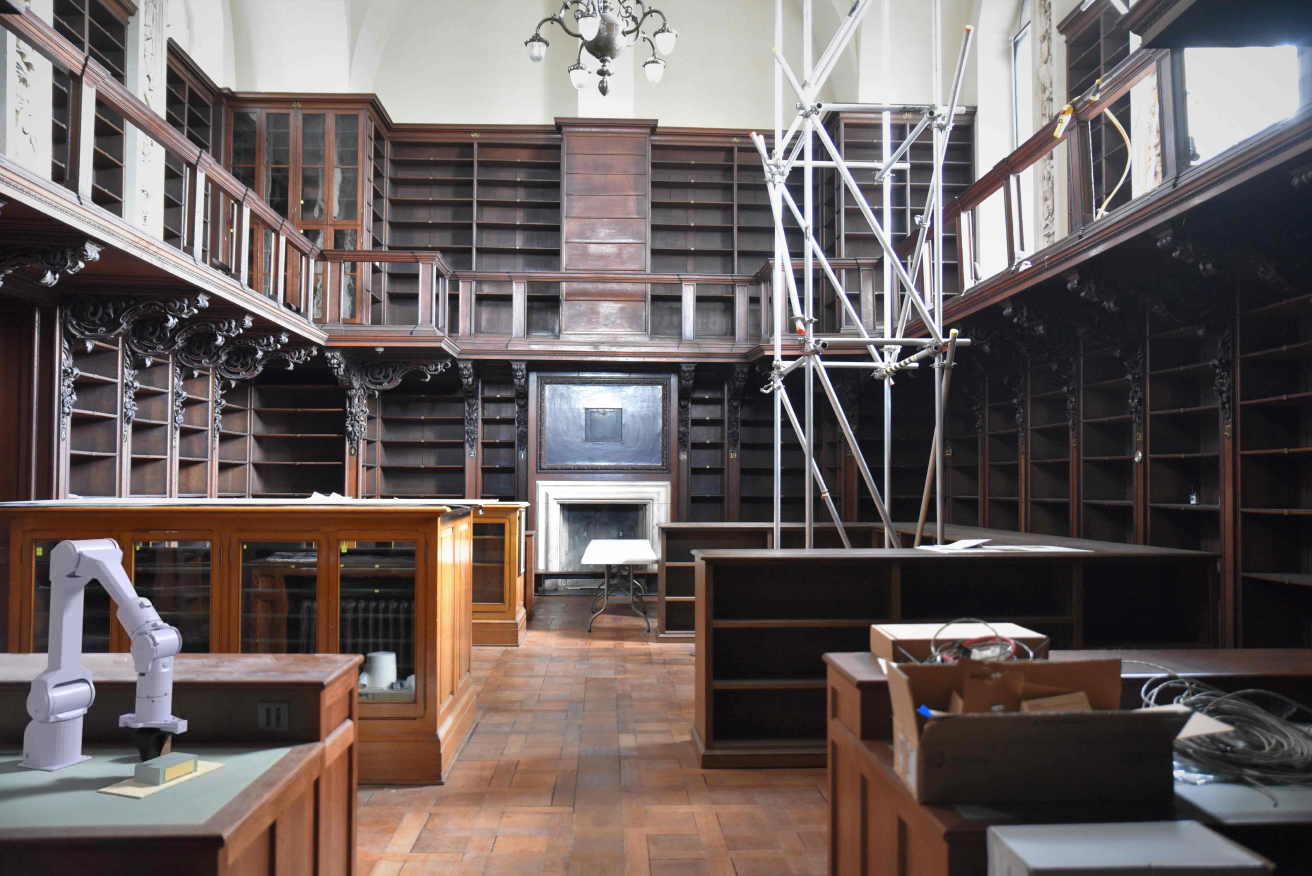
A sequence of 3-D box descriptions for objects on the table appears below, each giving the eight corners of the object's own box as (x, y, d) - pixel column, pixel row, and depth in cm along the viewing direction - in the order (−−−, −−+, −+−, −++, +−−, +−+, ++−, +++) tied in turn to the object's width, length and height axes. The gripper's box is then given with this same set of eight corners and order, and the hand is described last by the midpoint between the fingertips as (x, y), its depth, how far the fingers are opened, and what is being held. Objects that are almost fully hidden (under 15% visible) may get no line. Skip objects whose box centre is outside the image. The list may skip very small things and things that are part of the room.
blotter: (98, 791, 142) (98, 790, 142) (186, 760, 159) (186, 758, 159) (140, 798, 139) (141, 796, 139) (226, 765, 156) (226, 764, 156)
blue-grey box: (134, 765, 146) (160, 768, 144) (173, 751, 154) (198, 755, 152) (134, 782, 146) (159, 785, 144) (172, 768, 153) (197, 771, 151)
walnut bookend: (140, 757, 160) (141, 727, 161) (151, 754, 162) (152, 723, 163) (159, 760, 159) (160, 729, 159) (170, 756, 161) (171, 726, 161)
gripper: (105, 696, 149) (101, 771, 148) (164, 702, 145) (160, 780, 144) (140, 687, 156) (136, 759, 155) (197, 693, 152) (194, 767, 151)
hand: (150, 768), depth 150 cm, fingers closed
